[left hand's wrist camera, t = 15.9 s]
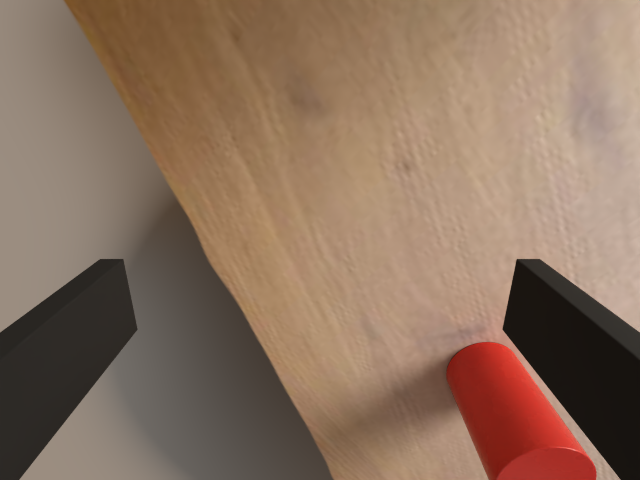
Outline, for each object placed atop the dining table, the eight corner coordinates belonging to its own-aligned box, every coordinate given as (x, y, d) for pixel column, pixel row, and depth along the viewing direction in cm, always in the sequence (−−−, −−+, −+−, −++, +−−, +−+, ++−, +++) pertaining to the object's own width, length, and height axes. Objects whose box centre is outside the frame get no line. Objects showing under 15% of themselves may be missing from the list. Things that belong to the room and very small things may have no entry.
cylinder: (464, 333, 40) (524, 437, 28) (531, 352, 40) (617, 460, 28) (434, 389, 42) (477, 504, 30) (497, 405, 43) (563, 524, 31)
